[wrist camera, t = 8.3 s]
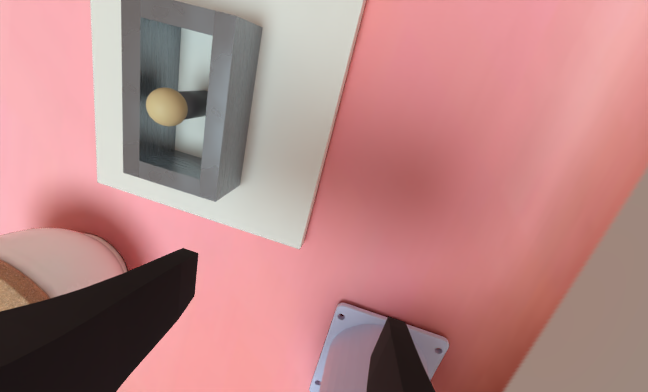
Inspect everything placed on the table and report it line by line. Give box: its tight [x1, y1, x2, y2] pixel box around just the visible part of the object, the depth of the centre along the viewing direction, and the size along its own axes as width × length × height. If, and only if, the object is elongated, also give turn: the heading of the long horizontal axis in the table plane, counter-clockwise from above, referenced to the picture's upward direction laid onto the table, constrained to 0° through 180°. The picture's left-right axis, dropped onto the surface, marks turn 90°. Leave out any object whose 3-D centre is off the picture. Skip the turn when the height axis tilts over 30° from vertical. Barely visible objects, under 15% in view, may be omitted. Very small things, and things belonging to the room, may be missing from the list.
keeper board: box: [90, 0, 366, 249], centre depth 17 cm, size 15×15×5 cm
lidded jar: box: [0, 228, 128, 311], centre depth 22 cm, size 11×11×9 cm
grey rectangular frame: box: [121, 0, 263, 202], centre depth 17 cm, size 9×6×3 cm, turn 167°
